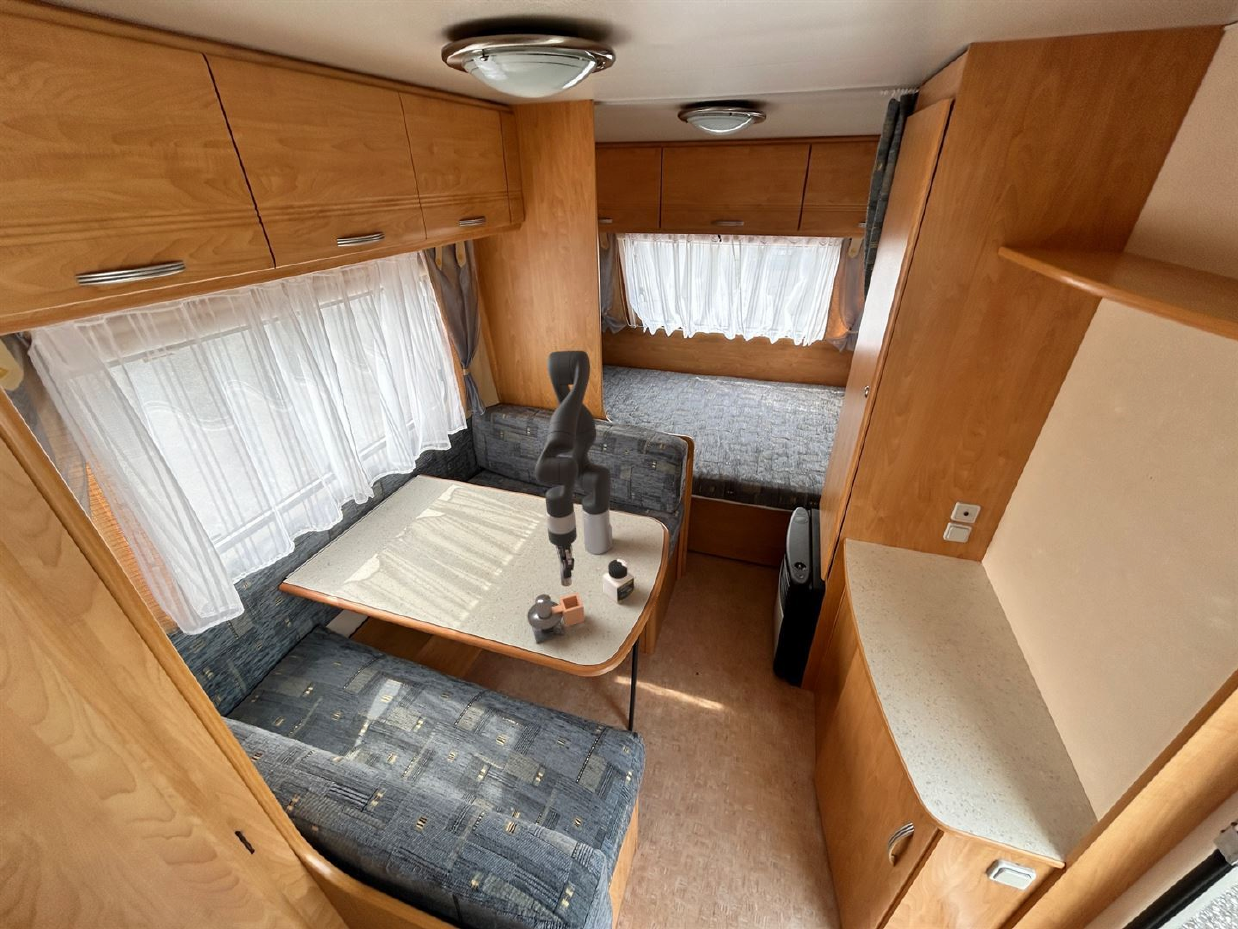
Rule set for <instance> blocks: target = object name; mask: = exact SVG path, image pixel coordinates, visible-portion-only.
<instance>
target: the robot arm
mask: <svg viewBox="0 0 1238 929" xmlns="http://www.w3.org/2000/svg"><path fill="white" fill-rule="evenodd" d="M590 361H591V360H590V357H589V355H588V353H587V352H586V351H585V350H561V351H560V350H558V351H552V352H551V353H549V355H548V358H547V371H548V376H549V379H550V382H551V385H552V388H553V391H554V395H555V397H556V399H557V403H558V406H557V408H556V409H555V410H554V412H553V413H552V414H551V417H550V420H549V425H548V432H547V439H546V442H545V444H544V447H543V448H542V449H543V450H542V451H541V453H540V455H539V456H538V458H537V461H536V464H535V466H534V476H535V479H536V480H537V482H538V483H539V484H540V485H545V486H546V485H547V486H553V487H551V488H548V490H547V491H546V493H545V506H546V507H545V508H546V526H547V527H546V528H547V534H548V541H549V542H550V543H551V544H553V545H554V546H555V551H556V552H555V553H556V554H557V555H558V554H559V557H558V556H557V557H558V558H557V559H558V560H559V559H560V562H561V563H562V569H563V577H564V579H567V578H571V579H572V577H573V574H572V573H573V572H572V571H574V568H575V558H574V557H573V551H574V550H573V543H574V542H575V541H576V539H577V536H578V535H577V534H578V533H577V521H576V520H577V519H576V512H575V507H574V506H575V505H574V490H575V486H577V487H578V489H580V490H583V491H585V492H589V494H587V495H585V496H584V497H583V498H582V501H581V509H582V510H581V511H582V523H583V524H582V525H583V539H584V543H583V544H584V549H585V551H586V552H588V553H589V554H592V555H601V554H605V553H607V552H608V551H609V550H610V549H612V548H613V526H612V524H611V521H610V514H611V513H610V501H611V488H612V487H611V486H612V485H611V484H612V483H611V481H612V476H611V472H610V469H609V468H608V467H606V466H602V465H599V464H596V463H595V464H594V463H591V462H590V459H589V451H590V450H591V448H592V446H593V445H594V443H595V441H596V439H597V429H596V428H597V427H596V424H595V419H594V415H593V413H592V412H591V411H590V409H589V408H588V407H587V406H586V405H585V404H584V403H583V402H584V399H585V396H586V395H585V394H586V393H587V387H588V385H589V381H590V375H591V362H590ZM570 386H572V388H570ZM567 453H570V456H571V457H569V456H566V457H565V456H559V455H564V454H567ZM554 486H555V487H554Z"/></svg>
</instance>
